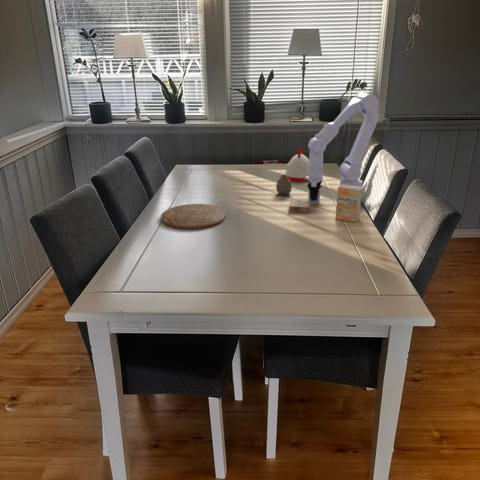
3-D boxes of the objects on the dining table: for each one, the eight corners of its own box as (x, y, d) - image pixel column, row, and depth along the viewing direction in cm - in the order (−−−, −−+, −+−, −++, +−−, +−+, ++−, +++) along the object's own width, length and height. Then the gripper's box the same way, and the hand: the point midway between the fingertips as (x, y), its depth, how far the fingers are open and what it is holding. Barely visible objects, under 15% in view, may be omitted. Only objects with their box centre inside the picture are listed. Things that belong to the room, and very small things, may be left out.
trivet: (216, 232, 163) (216, 228, 162) (151, 228, 168) (151, 224, 167) (231, 209, 186) (231, 205, 185) (173, 206, 190) (173, 202, 190)
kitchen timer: (282, 180, 223) (283, 150, 217) (288, 172, 235) (289, 144, 229) (310, 182, 220) (312, 151, 213) (314, 174, 232) (316, 145, 226)
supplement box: (334, 219, 172) (337, 187, 167) (338, 215, 176) (340, 183, 171) (356, 223, 169) (359, 189, 164) (359, 219, 173) (362, 186, 167)
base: (310, 207, 186) (310, 200, 185) (308, 214, 179) (309, 207, 178) (290, 206, 188) (291, 199, 187) (288, 213, 181) (288, 206, 180)
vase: (291, 192, 205) (292, 173, 202) (291, 196, 199) (292, 177, 195) (276, 191, 206) (276, 173, 202) (275, 196, 200) (276, 177, 196)
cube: (319, 200, 194) (320, 190, 192) (318, 203, 190) (319, 193, 188) (309, 199, 195) (309, 189, 193) (308, 202, 191) (308, 192, 189)
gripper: (307, 162, 194) (306, 192, 199) (304, 171, 181) (303, 203, 186) (324, 163, 192) (322, 193, 198) (322, 172, 179) (320, 204, 185)
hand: (314, 198), depth 192 cm, fingers closed on cube, 4 cm apart
